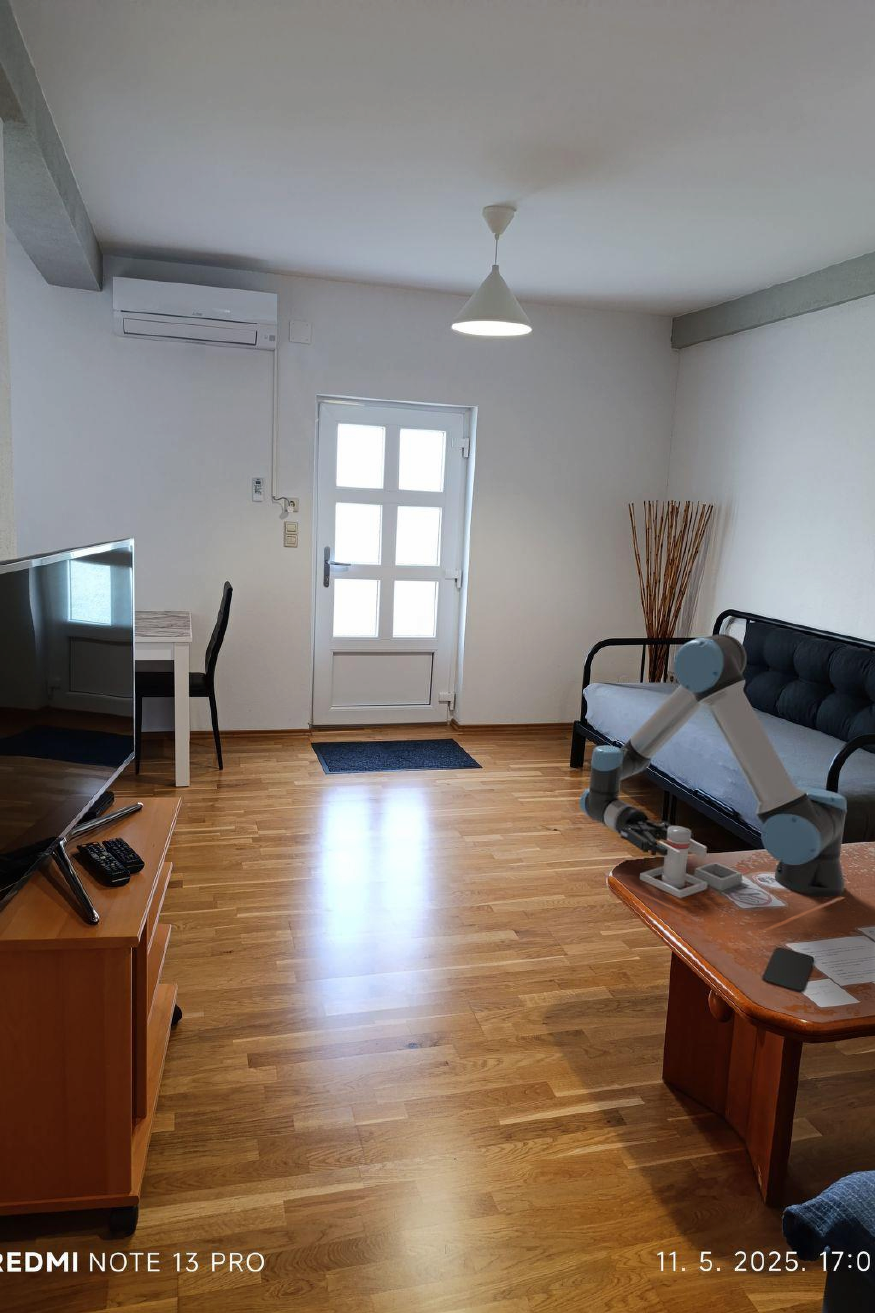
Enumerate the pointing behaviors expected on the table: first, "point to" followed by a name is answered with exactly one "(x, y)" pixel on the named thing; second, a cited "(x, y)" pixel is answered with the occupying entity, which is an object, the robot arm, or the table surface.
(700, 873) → the box
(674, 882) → the cylinder
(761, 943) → the table surface
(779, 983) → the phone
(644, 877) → the grey rectangular frame
